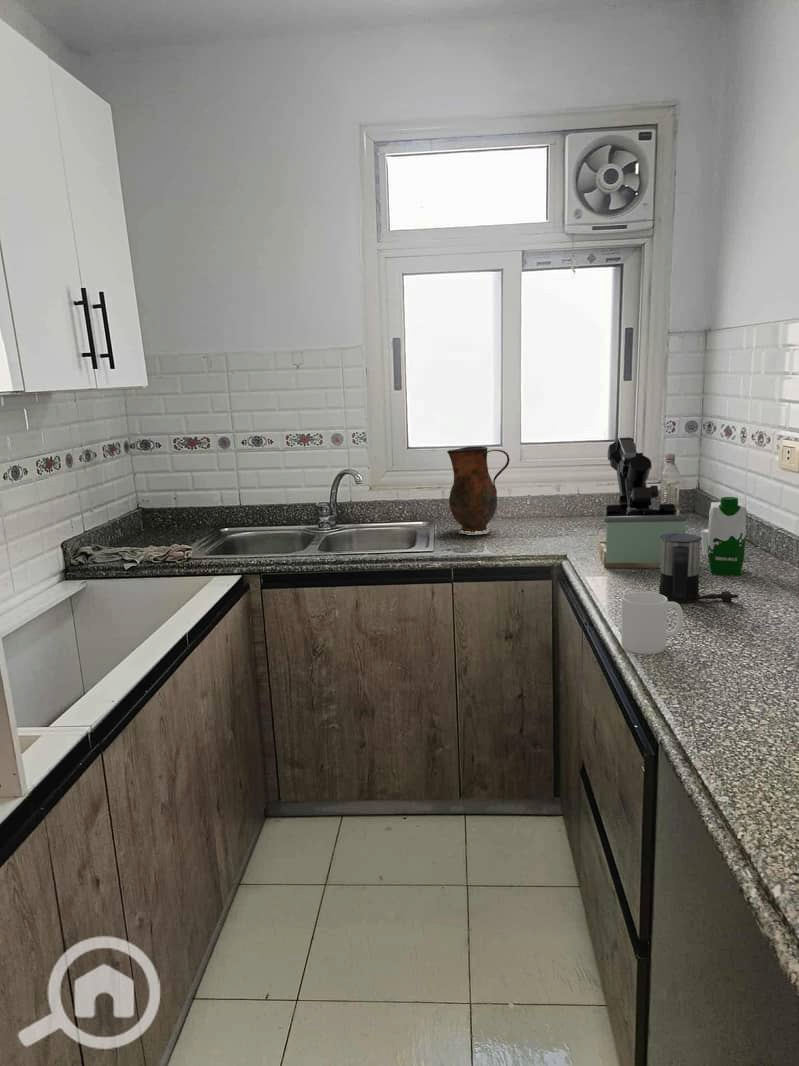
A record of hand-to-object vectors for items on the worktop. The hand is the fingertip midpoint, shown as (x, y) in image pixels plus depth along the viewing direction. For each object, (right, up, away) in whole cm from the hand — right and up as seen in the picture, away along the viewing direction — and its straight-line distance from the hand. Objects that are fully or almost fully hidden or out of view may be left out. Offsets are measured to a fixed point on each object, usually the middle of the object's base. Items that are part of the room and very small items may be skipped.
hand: (642, 538), depth 196 cm
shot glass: (+23, -5, +9) cm, 26 cm away
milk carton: (+19, -9, -9) cm, 22 cm away
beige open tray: (+1, -7, +4) cm, 8 cm away
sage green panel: (0, -6, -2) cm, 7 cm away
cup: (-18, -21, -57) cm, 63 cm away
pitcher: (-39, +1, +53) cm, 66 cm away
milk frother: (+2, -14, -31) cm, 34 cm away
